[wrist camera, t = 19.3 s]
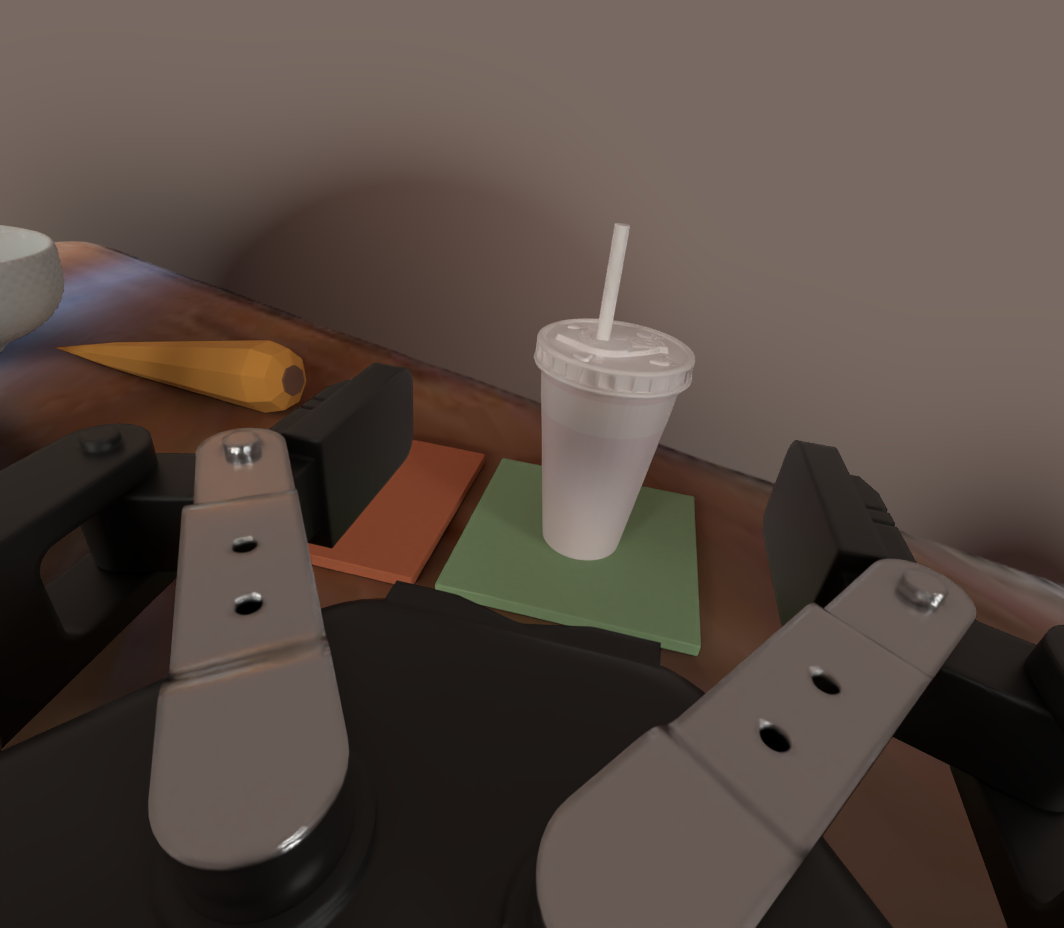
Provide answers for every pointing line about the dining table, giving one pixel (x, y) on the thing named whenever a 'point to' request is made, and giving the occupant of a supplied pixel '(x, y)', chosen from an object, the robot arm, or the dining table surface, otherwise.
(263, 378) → the carrot
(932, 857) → the dining table surface
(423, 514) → the terracotta mat
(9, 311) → the cereal bowl
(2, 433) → the dining table surface
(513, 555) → the green mat
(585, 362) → the smoothie
